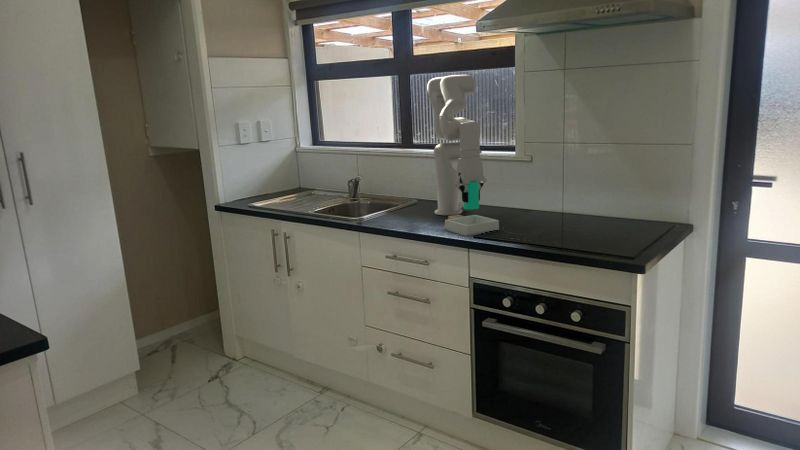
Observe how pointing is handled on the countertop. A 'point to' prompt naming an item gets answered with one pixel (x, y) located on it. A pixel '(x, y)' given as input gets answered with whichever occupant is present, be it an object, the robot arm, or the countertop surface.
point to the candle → (472, 196)
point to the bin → (471, 225)
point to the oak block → (454, 216)
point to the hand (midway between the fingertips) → (471, 200)
